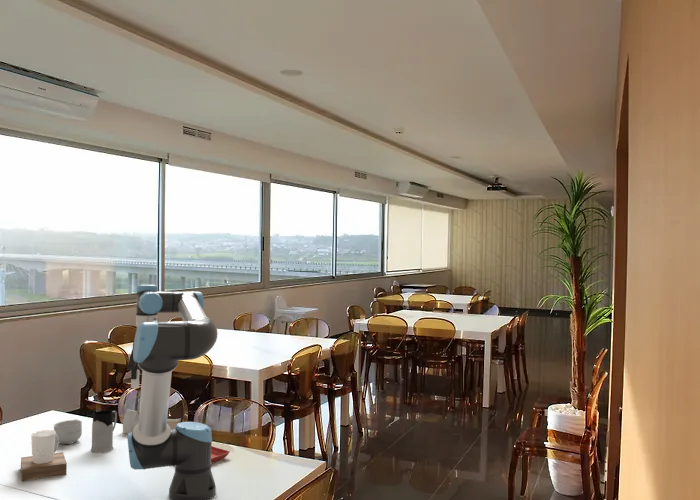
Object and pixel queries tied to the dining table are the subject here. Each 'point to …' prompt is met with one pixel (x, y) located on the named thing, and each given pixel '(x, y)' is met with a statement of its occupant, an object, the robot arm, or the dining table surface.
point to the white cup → (43, 446)
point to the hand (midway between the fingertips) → (145, 384)
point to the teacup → (68, 431)
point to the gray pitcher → (103, 431)
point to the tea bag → (130, 421)
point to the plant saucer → (218, 454)
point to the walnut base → (43, 467)
